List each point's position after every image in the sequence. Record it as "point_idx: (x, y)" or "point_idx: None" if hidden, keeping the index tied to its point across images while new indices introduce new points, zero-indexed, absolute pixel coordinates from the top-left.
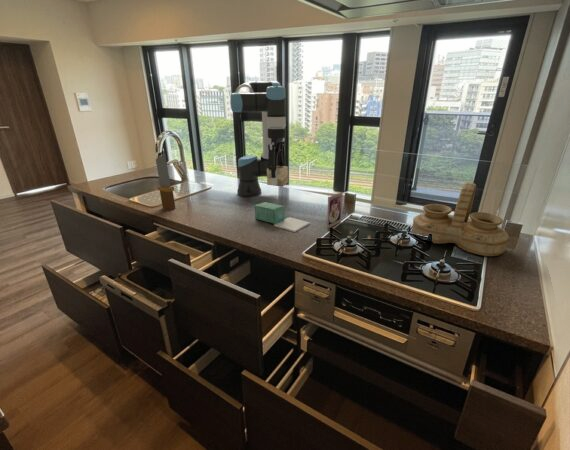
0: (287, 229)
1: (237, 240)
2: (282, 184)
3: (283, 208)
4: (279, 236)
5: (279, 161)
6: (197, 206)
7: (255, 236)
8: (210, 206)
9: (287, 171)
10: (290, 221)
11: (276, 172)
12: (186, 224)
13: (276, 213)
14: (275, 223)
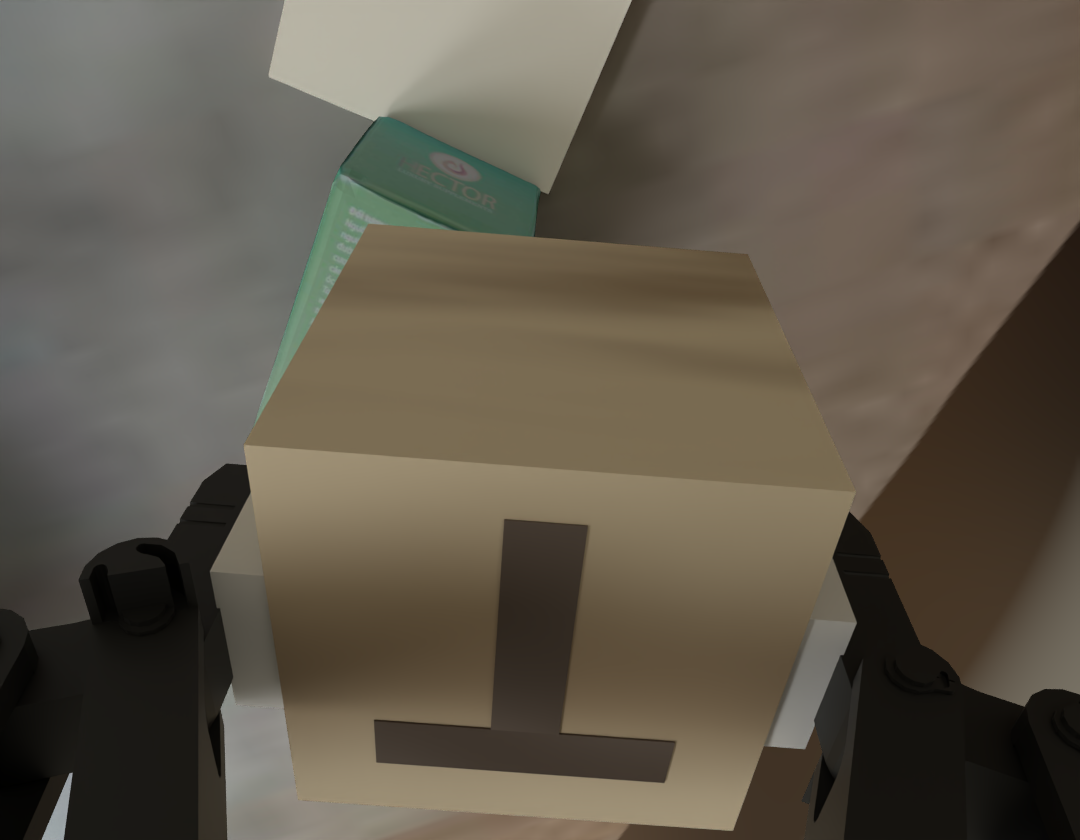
0: (630, 1)
1: (926, 401)
2: (755, 271)
3: (367, 166)
4: (818, 48)
5: (218, 802)
6: (327, 830)
7: (833, 288)
8: (289, 774)
9: (325, 356)
10: (404, 25)
11: (838, 576)
12: None
13: (508, 216)
14: (535, 185)
